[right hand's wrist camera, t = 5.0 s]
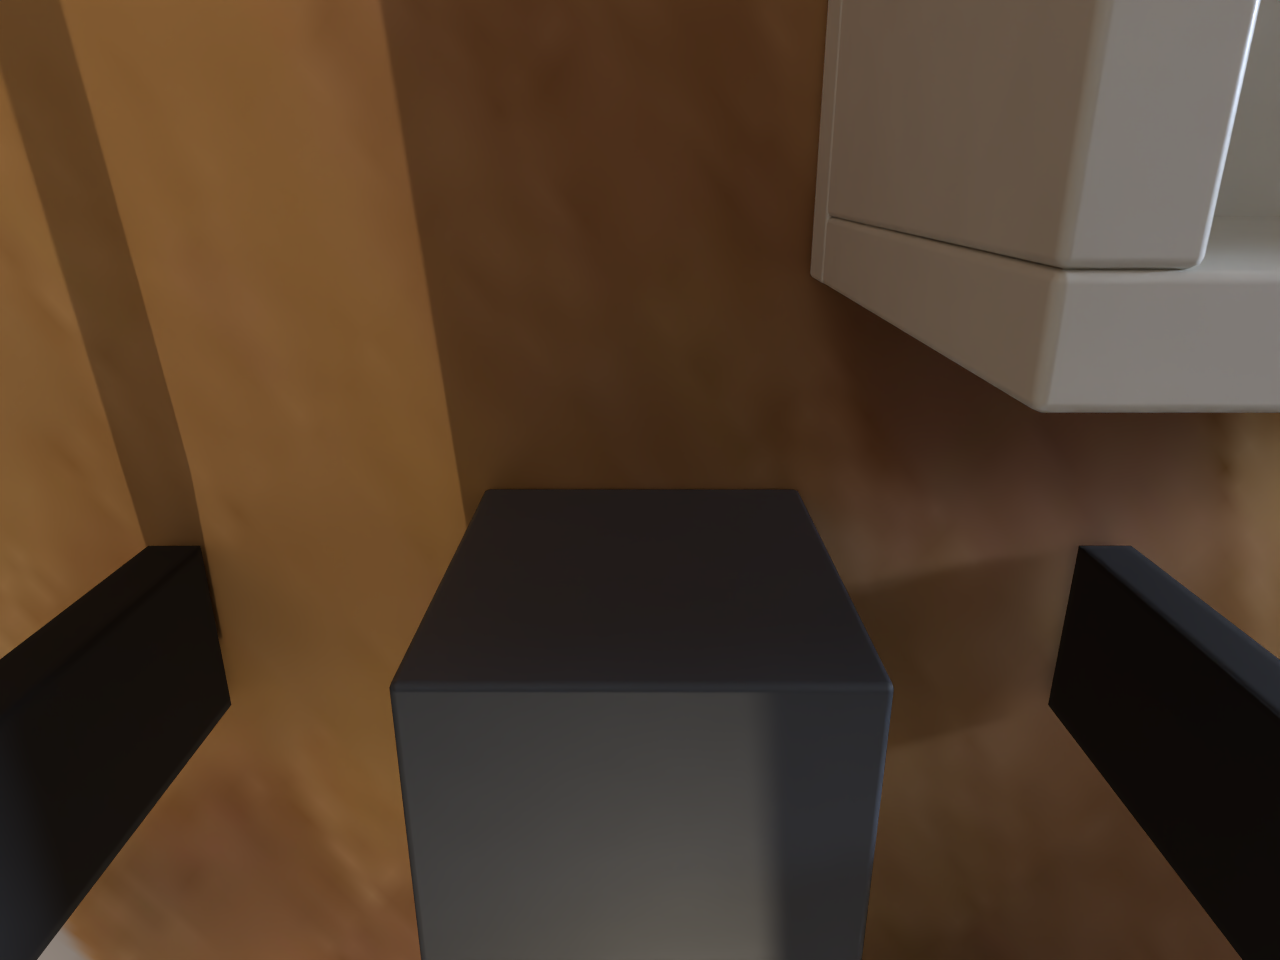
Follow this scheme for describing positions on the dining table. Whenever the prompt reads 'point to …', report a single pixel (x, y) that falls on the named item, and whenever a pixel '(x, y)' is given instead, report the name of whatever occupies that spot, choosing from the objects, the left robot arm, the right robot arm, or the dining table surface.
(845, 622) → the charcoal block
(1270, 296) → the tote
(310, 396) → the dining table surface
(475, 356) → the dining table surface
